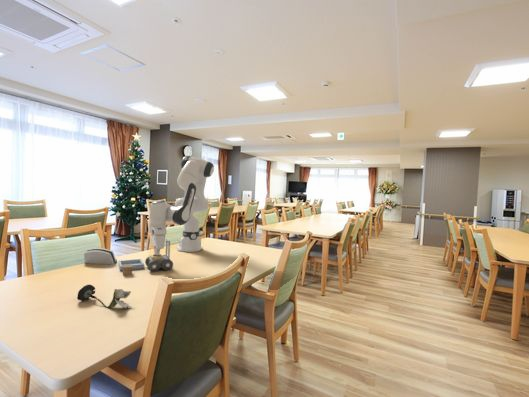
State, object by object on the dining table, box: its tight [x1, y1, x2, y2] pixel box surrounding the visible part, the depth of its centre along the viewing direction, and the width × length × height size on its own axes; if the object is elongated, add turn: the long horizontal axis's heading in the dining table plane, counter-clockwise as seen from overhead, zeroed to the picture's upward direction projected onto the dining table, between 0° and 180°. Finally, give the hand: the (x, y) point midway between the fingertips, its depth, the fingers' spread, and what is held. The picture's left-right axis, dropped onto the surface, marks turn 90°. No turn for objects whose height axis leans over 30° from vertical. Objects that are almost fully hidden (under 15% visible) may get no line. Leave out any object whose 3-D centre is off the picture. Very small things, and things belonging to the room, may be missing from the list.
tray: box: [117, 258, 145, 272], centre depth 154 cm, size 12×12×2 cm
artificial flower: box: [76, 284, 132, 309], centre depth 106 cm, size 9×22×10 cm, turn 68°
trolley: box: [144, 238, 174, 273], centre depth 153 cm, size 13×12×16 cm
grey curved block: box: [83, 247, 118, 265], centre depth 158 cm, size 17×5×10 cm, turn 91°
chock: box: [121, 264, 133, 277], centre depth 142 cm, size 5×4×4 cm
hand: (156, 253), depth 152 cm, fingers open, 4 cm apart
